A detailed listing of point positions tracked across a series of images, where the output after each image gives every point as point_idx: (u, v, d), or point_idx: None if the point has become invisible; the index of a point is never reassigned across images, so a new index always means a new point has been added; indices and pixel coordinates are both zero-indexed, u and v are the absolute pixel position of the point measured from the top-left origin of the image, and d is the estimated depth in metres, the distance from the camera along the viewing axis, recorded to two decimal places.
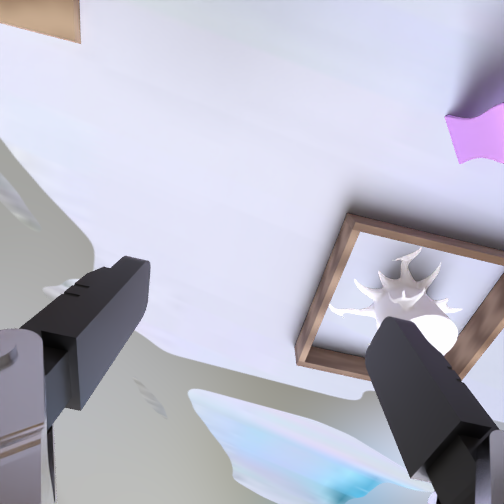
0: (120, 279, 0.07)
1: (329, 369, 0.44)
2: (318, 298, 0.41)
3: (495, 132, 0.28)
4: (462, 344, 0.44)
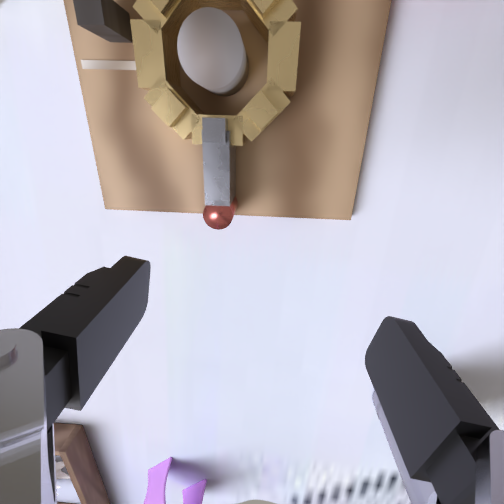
0: (120, 279, 0.07)
1: None
2: None
3: None
4: None
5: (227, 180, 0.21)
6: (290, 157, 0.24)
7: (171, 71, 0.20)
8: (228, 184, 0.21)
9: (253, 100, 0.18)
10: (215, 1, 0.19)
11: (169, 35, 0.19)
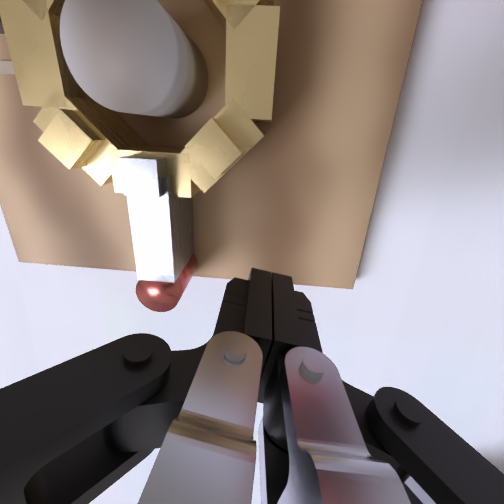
0: (265, 289, 0.08)
1: None
2: None
3: None
4: None
5: (168, 248, 0.14)
6: (270, 205, 0.17)
7: None
8: (170, 253, 0.14)
9: (201, 133, 0.11)
10: None
11: None
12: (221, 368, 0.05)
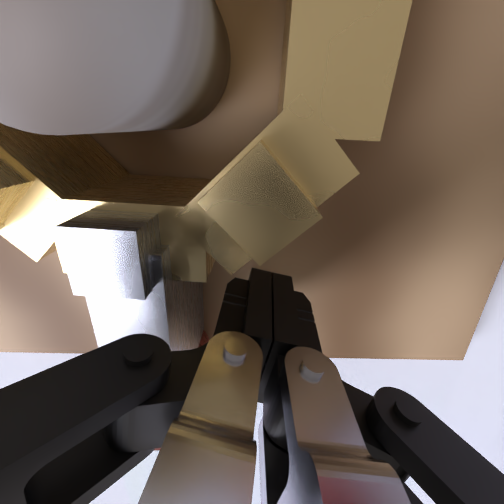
0: (265, 289, 0.08)
1: None
2: None
3: None
4: None
5: None
6: (339, 252, 0.11)
7: None
8: None
9: (234, 177, 0.05)
10: None
11: None
12: (221, 368, 0.05)
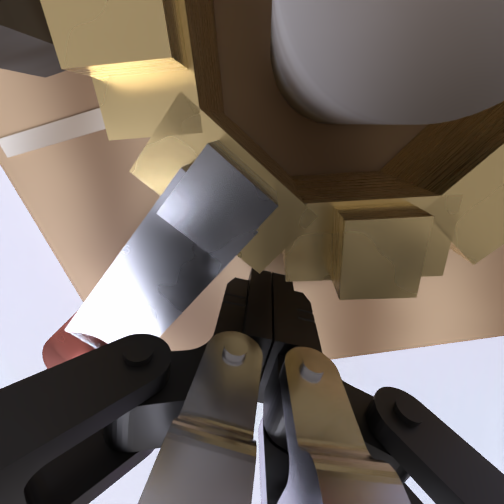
0: (264, 289, 0.08)
1: None
2: None
3: None
4: None
5: (161, 324, 0.07)
6: None
7: None
8: (159, 332, 0.07)
9: (391, 225, 0.05)
10: None
11: None
12: (221, 368, 0.05)
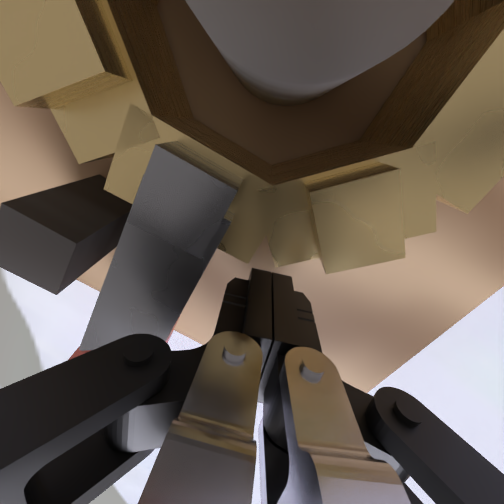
0: (265, 289, 0.08)
1: None
2: None
3: None
4: None
5: (163, 329, 0.07)
6: None
7: None
8: (163, 337, 0.07)
9: (358, 187, 0.05)
10: None
11: None
12: (221, 368, 0.05)
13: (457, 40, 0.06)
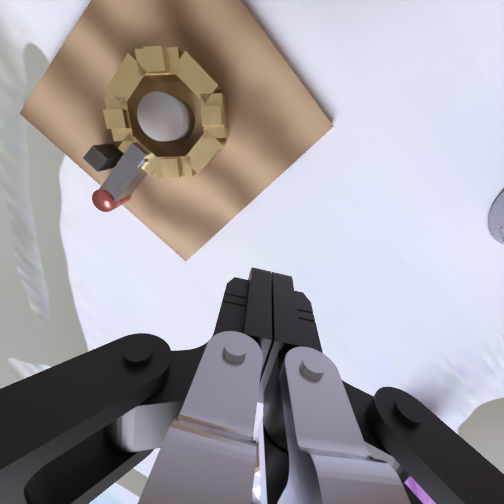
0: (264, 289, 0.08)
1: None
2: None
3: None
4: None
5: (124, 186, 0.28)
6: (257, 127, 0.30)
7: (137, 97, 0.27)
8: (123, 189, 0.28)
9: (169, 160, 0.27)
10: None
11: (150, 78, 0.26)
12: (221, 368, 0.05)
13: None
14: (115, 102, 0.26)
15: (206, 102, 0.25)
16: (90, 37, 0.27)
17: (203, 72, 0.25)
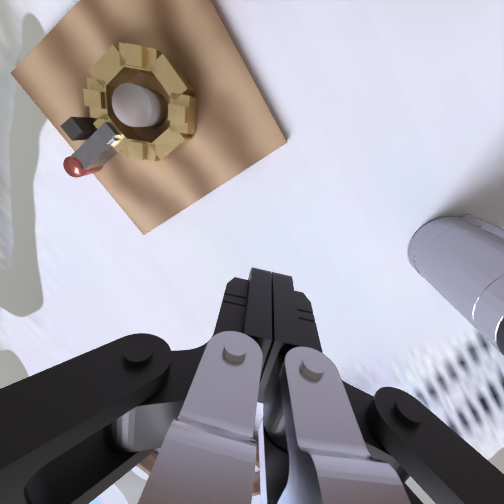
0: (264, 289, 0.08)
1: (141, 467, 0.61)
2: None
3: None
4: None
5: (93, 158, 0.32)
6: (221, 130, 0.34)
7: (117, 82, 0.30)
8: (93, 160, 0.32)
9: (135, 143, 0.30)
10: None
11: (131, 69, 0.30)
12: (221, 368, 0.05)
13: None
14: (96, 84, 0.29)
15: (175, 100, 0.29)
16: (85, 21, 0.30)
17: (175, 75, 0.28)
